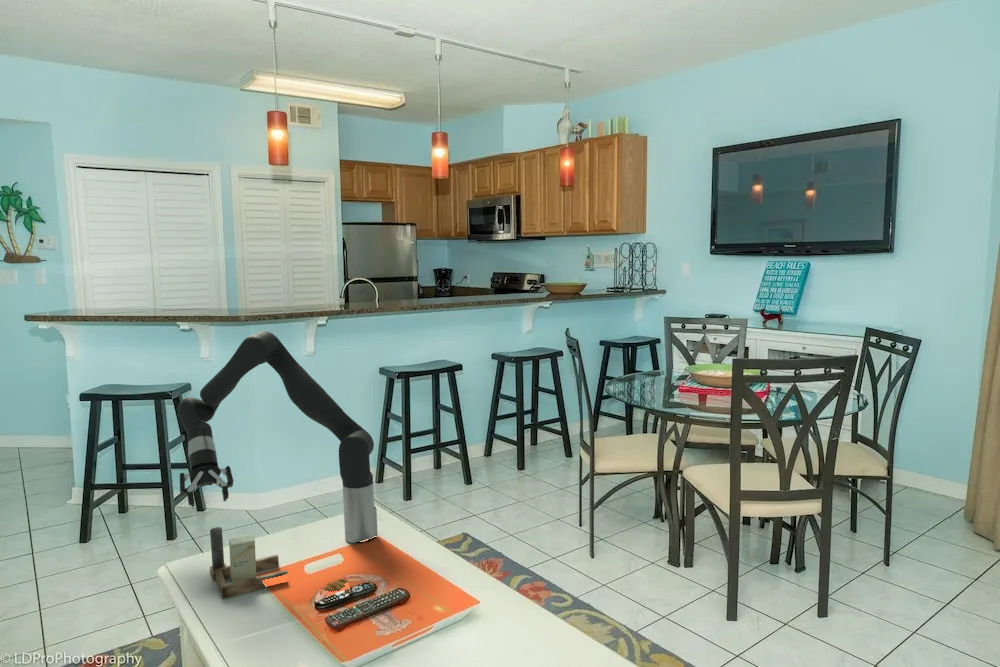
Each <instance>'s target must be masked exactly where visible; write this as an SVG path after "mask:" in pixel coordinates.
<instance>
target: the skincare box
mask: <svg viewBox="0 0 1000 667" xmlns="http://www.w3.org/2000/svg"><path fill="white" fill-rule="evenodd" d="M228 543H229V544H228V546H229V566H230V571H231V578H230V584H231V583H235V582H239V581H243V580H247V579H251V578H255V577H257V572H256V557H257V556H256V539H255V536H254V534H251V535H246V536H241V537H236V538H229V539H228Z"/></svg>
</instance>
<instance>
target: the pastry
mask: <svg viewBox="0 0 1000 667" xmlns="http://www.w3.org/2000/svg"><path fill="white" fill-rule="evenodd" d="M347 582H349V581H348V580H347V579H345V578H338V581H337V580H335V581H332V583H331V582H329V583H327V584H326V585H327V586H326V585H325V586H326V587H325V586H324V587H325V588H324V587H323V588H324V590H325V591H329V592H330V591H331V592H332V591H333V592H334V591H336V590H337V591H339V590H341V588H343V587H345V585H344V584H345V583H347Z"/></svg>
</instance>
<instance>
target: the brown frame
mask: <svg viewBox="0 0 1000 667" xmlns="http://www.w3.org/2000/svg"><path fill="white" fill-rule="evenodd" d="M209 532H210V535H209V536H210V549H211V551H210V552H211V564H212V566H209V573H210V577H211V580H212V581H216V583H217V587H218V589H219V592H220V593H219V594H220V595H221V599H222V600H224V599H229V598H232V597H236V596H239V595H244V594H247V593H253V592H256V591H259V590H263V589H267V588H266V587H265V585H264V584H263V582H262V580H265V579H270V578H274V577H278V576H282V575H285V574H288V570H287V569H284V570H280V571H277V572H276V571H275V572H272V573H267V574H264V575H261V576H256V577H255V578H251V579H247V580H243V581H239V582H235V583H231V582H230V583H228V584H227V583H226V580H228V579H229V580H230V579H231V571H230V565H228V566H227V565H226V563H225V556H224V555H225V554H224V553H225V552H224V540H223V528H222V527H219V526H218V527H212V528H210V529H209ZM279 564H280V562H279V555H278V554H273V555H271V556H266V557H262V558H257V559H256V573H258V572H262V571H266V570H271V569H275V568H278V567H280V565H279Z"/></svg>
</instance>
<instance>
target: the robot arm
mask: <svg viewBox="0 0 1000 667" xmlns="http://www.w3.org/2000/svg"><path fill="white" fill-rule="evenodd" d="M265 363H267V365H269V366H270V367H271V368H272V369H273V370H274V371H275V372H276V373H277V374H278V376H279V377H280V379H281V382H283V386H284V389H285V391H286V394H287V395H288V397H289V399H290V400H291V402H292V403H293V404H294V405H295V406H296V407H297V408H298V409H299V410H300V411H301V412H302V413H303V414H304V415H305V416H306V417H307V418H309V419H310V420H312V421H314V422H316V423H317V424H319V425H321V426H323V427H325V428H326V429H327V430H329V432H331V433H332V434H333V435H334V436H335V437H336V438H337V439H338V441H340V443H339V446H338V464H339V475H340V478H341V481H342V497H343V498H342V500H343V501H342V502H343V517H344V518H343V519H344V522H343V523H344V539H345V541H346V542H348V543H350V544H357V543H356V542H360V541H363V540H366V539H369V538H372V537H374V536H378V512H377V510H378V509H377V507H376V506H375V495H374V494H375V492H374V475H373V473H372V472H371V465H370V463H371V462H370V455H371V454H372V452H373V451H374V446H375V443H374V440H373V437H372V435H371V434H370V433H369V432H367V430H365V429H364V428H363V427H362V426H361V425H359V424H358V423H357V422H356V421H355V420H354V419H352V418H351V417H350V416H349V415H348V414H347V413H346V412H345V411H344V410H343V409H342V408H341V407H340V405H339V404H338V403H337V402H336V401H335V400H334V398H332V397H331V395H329V394H328V393H327V391H326V390H325V389H324V388H323V387H322V386H321V385H320V384H319V383H318V382H317V381H316V380H315V379H314V378H313V377H312V376H311V375H310V374H309V373H308V371H307V370H305V369H304V367H303V366H301V365H300V364H299V362H298V361H297V360H296V359H295V358H294V357H293V356H292V354H291V353H290V352H289V350H288V349H287V348H286V346H285V345H284V344H283V342H282V341H281V340H280V339H279V338H278V337H277V336H276V335H275V334H273V333H272V332H271V331H267V330H261V331H257V332H255V333H252V334H251V335H249V336H247V337H245V338H244V340H242V342H241V343H240V345H239V346H238V348H237V349H236V351H235V352H234V354H233V355H232V356H231V358H230V359H229V360H228V361H227V362H226V364H225V365H224V366H223V367H222V368H221V369H220V370H219V371H218V372H217V373H216V374H215V375H214V376H213V377H212V378H211V379H210V380H209V381H208V382H207V383H206V384H204V386H203V387H202V388H201V390H200V391H199V397H200V399H199V398H196V397H192V396H188V397H184V398H183V399H181V400H180V402H179V403H178V406H177V414H178V418H179V420H180V422H181V425H182V427H183V429H184V431H185V432H186V438H187V445H188V447H187V452H188V454H187V456H188V460H189V468H190V472H189V473H186V474H185V473H184V472H180V473H179V494H180V496H187V500H188V502H187V503H188V506H191V508H193V507H194V508H195V497H194V496H195V495H194V492H195V491H197V489H198V487H206V486H212V485H215V486H217V487H219V488H220V489H221V492H222V493H221V494H222V500H223V502H226V501H227V500H228V499H229V495H230V494H229V490H228V489H230V488H232V487H233V486H234V477H233V474H232V470H231V467H230V466H229V465H227V466H225V467H224V468H220V467H219V463H218V456H217V450H216V445H215V441H214V436H213V431H212V427H211V424H209V423H208V422H210V421H211V420H212V419H213V417H214V416H215V414H216V412H217V410H218V408H219V406H220V404H221V403H222V402H223V401H224V400H225V399H226V398H227V397H228V396H229V395H230V394H231V393H232V392H233V391H234V390H235V388H236V387H237V385H238V384H239V382H240V381H241V379H242V378H243V377H244V376H246V374H248V373H249V372H250V371H252V370H253V369H254V368H256V367H258V366H260V365H263V364H265ZM221 474H222V475H223V477H224V476H225V477H226V480H227V481H225V480H223V478H222V477H221V476H220V475H221ZM189 479H190V480H191V481H192V482H191V484H190V486H189V487H188V488H186V482H188V480H189Z"/></svg>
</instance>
